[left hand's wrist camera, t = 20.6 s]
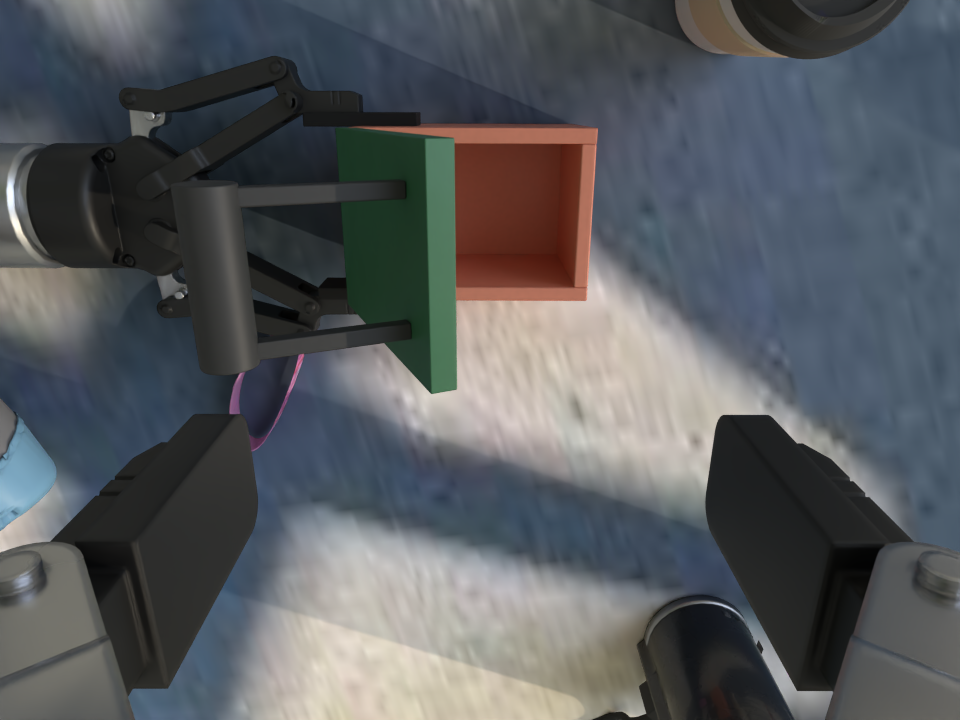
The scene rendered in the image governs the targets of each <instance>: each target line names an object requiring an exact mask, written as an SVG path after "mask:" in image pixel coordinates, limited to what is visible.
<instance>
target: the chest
mask: <svg viewBox="0 0 960 720" xmlns="http://www.w3.org/2000/svg"><path fill="white" fill-rule="evenodd" d="M349 128H365V129H375V130H384V131H394V132H403V133H413V134H422V135H432V136H442V137H451V138H454V145H455V243H456V300H517V301H586V300H587V286H588V270H589V255H590V239H591V223H592V208H593V192H594V176H595V161H596V144H597V132H598V129H597V128H593V127H587V126H581V125H575V124H423V123H421V125H419V126H355V127H349Z"/></svg>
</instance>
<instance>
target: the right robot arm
mask: <svg viewBox="0 0 960 720" xmlns="http://www.w3.org/2000/svg"><path fill="white" fill-rule="evenodd" d="M271 86H275V88H276V90H277V92H278V95H279V96H277V97H276V98H274V99H272V100H271V101H269V102H268V103H266V104H264V105H263V106H261V107H260V108H258V109H256V110H255V111H253V112H252V113H250V114H248V115H247V116H245V117H244V118H242V119H240V120H239V121H237V122H236V123H234V124H232V125H231V126H229V127H228V128H226V129H225V130H223V131H221V132H220V133H218V134H217V135H215V136H213V137H212V138H210V139H209V140H207V141H205V142H204V143H202V144H201V145H199V146H197V147H195V148H193V149H190V150H188V151H187V152H185V153H183V154H180V153H179V152H177V151H176V150H174V149H173V148H171V147H170V146H168V145H167V144H166V143H164V142H163V141H161V140H160V139H158V138H156V131H157V129H158V128H159V127H161V126H166V125H168V124H169V123H170V122H171V120H172V112H185V111H190V110H194V109H197V108H201V107H204V106H207V105H211V104H214V103H217V102H221V101H224V100H228V99H231V98H234V97H238V96H241V95H244V94H248V93H251V92H255V91H258V90H261V89H265V88H268V87H271ZM119 100H120V103H121V104H122V106H123V107H125V108H126V109H128V110H129V111H130V122H131V132H132V136H131V137H129V138H127V139H126V140H124V141H122V142H120V143H56V144H51V145H49V146H47V145H44V144H42V143H0V267H3V268H60V267H64V266H67V267H71V268H138V269H142V270H145V271H147V272H149V273H151V274H153V275H156V276H157V280H158V283H159V287H160V291H161V295H162V298H163V300H162V301H160V302H159V303H158V305H157V311H158V313H159V314H160V315H161V316H162V317H164V318H177V317H189V316H191V310H190V304H189V298H188V292H187V286H186V280H185V279H183V278H182V277H181V276H180V275H179V273H178V271H177V270H179V269H180V268H181V267H182V266H183V261H182V255H181V248H180V242H179V236H178V230H177V224H176V218H175V211H174V205H173V199H172V193H171V187H170V186H171V184H174V183H178V182H186V181H200V180H209V178H208V176H207V174H208V173H210V172H212V171H213V170H215V169H216V168H218V167H220V166H221V165H223V164H224V163H225V162H226V161H227V160H229V159H231V158H232V157H234V156H236V155H237V154H239V153H240V152H242V151H244V150H245V149H247V148H249V147H250V146H252V145H253V144H255V143H257V142H258V141H260V140H262V139H263V138H265V137H266V136H268V135H270V134H271V133H273V132H275V131H276V130H278V129H279V128H281V127H283V126H284V125H286V124H288V123H289V122H291V121H292V120H294V119H296V118H297V117H299V116H301V115H302V114H303V125H304V126H353V127H355V126H419V125H421V123H420V112H363V101H362V95H360V94H358V93H356V92H353V91H310V90H308V89H306V88H305V87H304V86H303V85H302V83H301V81H300V78H299V76H298V74H297V67H296V65H295V63H294V62H293V61H291V60H289V59H285V58H281V57H278V56H271V57H268V58H264V59H261V60H258V61H254V62H251V63H248V64H244V65H241V66H238V67H235V68H231V69H228V70H225V71H221V72H218V73H215V74H211V75H208V76H205V77H201V78H198V79H195V80H191V81H188V82H185V83H181V84H178V85H175V86H171V87H168V88H165V89H162V90H155V89H143V88H124V89H122V90H121V92H120V93H119ZM247 258H248V266H249V274H250V282H251V288H253V289H255V290H257V291H259V292H261V293H263V294H265V295H267V296H269V297H271V298H273V299H275V300H277V301H279V302H281V303H283V304H285V305H287V306H289V307H291V308H293V309H295V310H292V309H288V308H284V307H280V306H277V305H273V304H269V303H265V302H261V301H257V300H253V306H254V314H255V322H256V330H257V332H260V333H264V334H268V335H272V336H277V335H285V334H293V333H301V332H309V331H316V330H317V329H318V328H319V325H320V319H321V316H322V315H325V314H357V313H356V312H355V311H354V310H353V309H352V308H351V307H350V306H349V304H348V297H347V283H346V278H327V279H326V280H325V281H324V282H323V283H322V284H321V285H320V286H319V288H318V287H316V286H314V285H312V284H310V283H308V282H306V281H304V280H302V279H300V278H298V277H297V276H295V275H293V274H291V273H289V272H287V271H285V270H283V269H281V268H279V267H277V266H275V265H273V264H271V263H269V262H267V261H265V260H263V259H261V258H259V257H257V256H255V255H254V254H252V253H250V252H248V251H247ZM296 310H297V311H296ZM56 475H57V473H56V467H55V464H54V462H53V461H52V459H51V458H50V457H49V455H48V454H47V453H46V451H45V450H44V449H43V447H42V446H41V445H40V444H39V442H38V441H37V440H36V438H35V437H34V436H33V434H32V433H31V432H30V430H29V429H28V428H27V426H26V425H25V424H24V422H23V419H22V418H21V417H20V416H19V414H17V413H16V412H13V411H12V410H11V409H10V408H9V407H8V406H7V405H6V404H5V403H4V402H3V401H2V400H1V398H0V531H1V530H2V529H4V528H5V527H6V526H7V525H8V524H9V523H10V522H12V521H13V520H15V519H16V518H17V517H19V516H21V515H22V514H24V513H25V512H26V511H28V510H29V509H30V508H31V507H32V506H34V505H35V504H36V503H37V502H38V501H39V500H40V499H42V498H43V497H44V496H45V495H46V494H47V492H48V491H49V490H50V489H51V487H52V486H53V484H54V482H55V479H56Z"/></svg>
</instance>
